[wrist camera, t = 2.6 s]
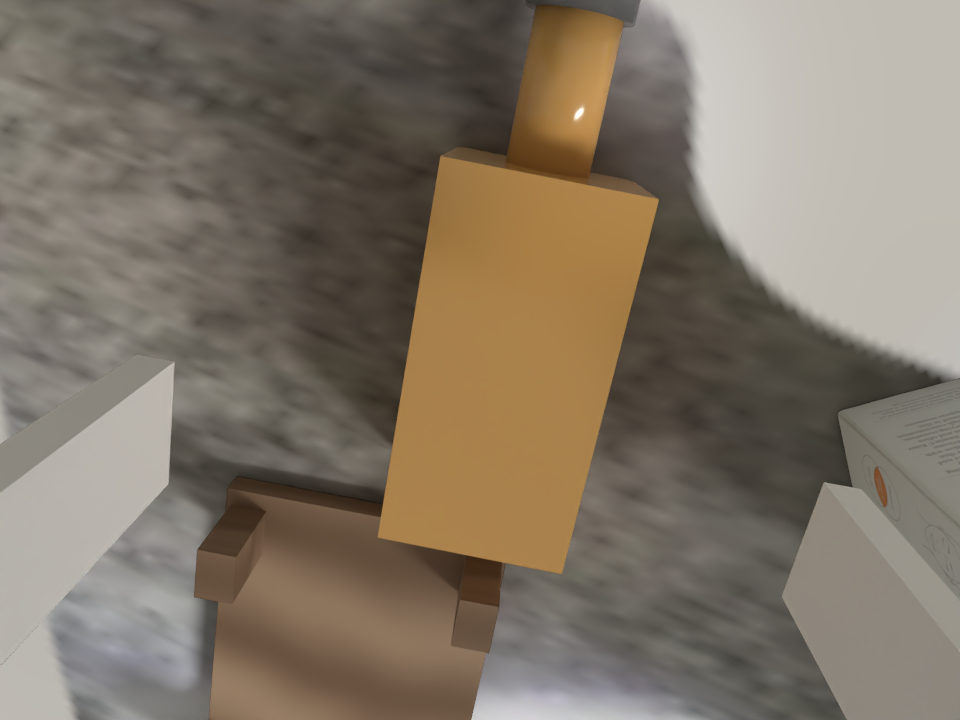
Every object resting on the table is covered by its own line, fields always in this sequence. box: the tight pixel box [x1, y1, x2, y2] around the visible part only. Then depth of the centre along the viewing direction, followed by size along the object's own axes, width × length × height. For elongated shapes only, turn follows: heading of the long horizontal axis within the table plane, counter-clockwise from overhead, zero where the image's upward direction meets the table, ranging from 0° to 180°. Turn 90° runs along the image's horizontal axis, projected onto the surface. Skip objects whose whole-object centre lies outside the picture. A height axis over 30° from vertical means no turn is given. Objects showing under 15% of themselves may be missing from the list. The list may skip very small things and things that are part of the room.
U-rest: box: [194, 477, 506, 720], centre depth 31 cm, size 15×11×4 cm
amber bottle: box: [378, 0, 659, 574], centre depth 24 cm, size 18×6×6 cm, turn 169°
